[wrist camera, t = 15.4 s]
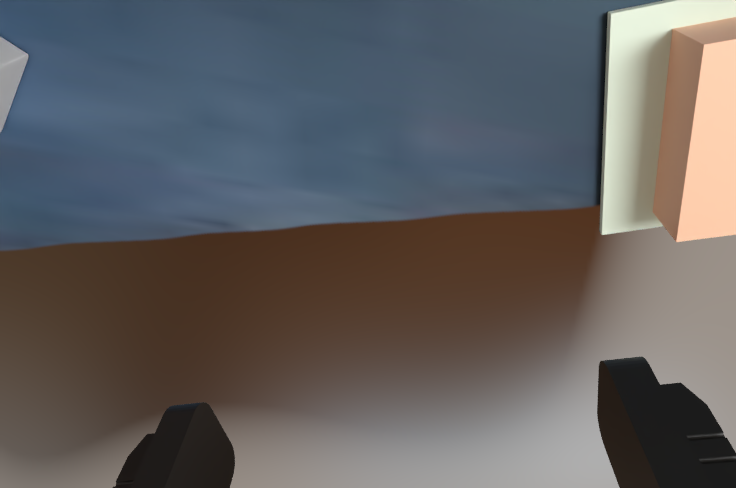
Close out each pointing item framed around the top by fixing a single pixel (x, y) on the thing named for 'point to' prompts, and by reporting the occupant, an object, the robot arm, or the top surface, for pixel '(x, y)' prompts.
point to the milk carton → (9, 75)
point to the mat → (640, 104)
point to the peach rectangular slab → (699, 134)
